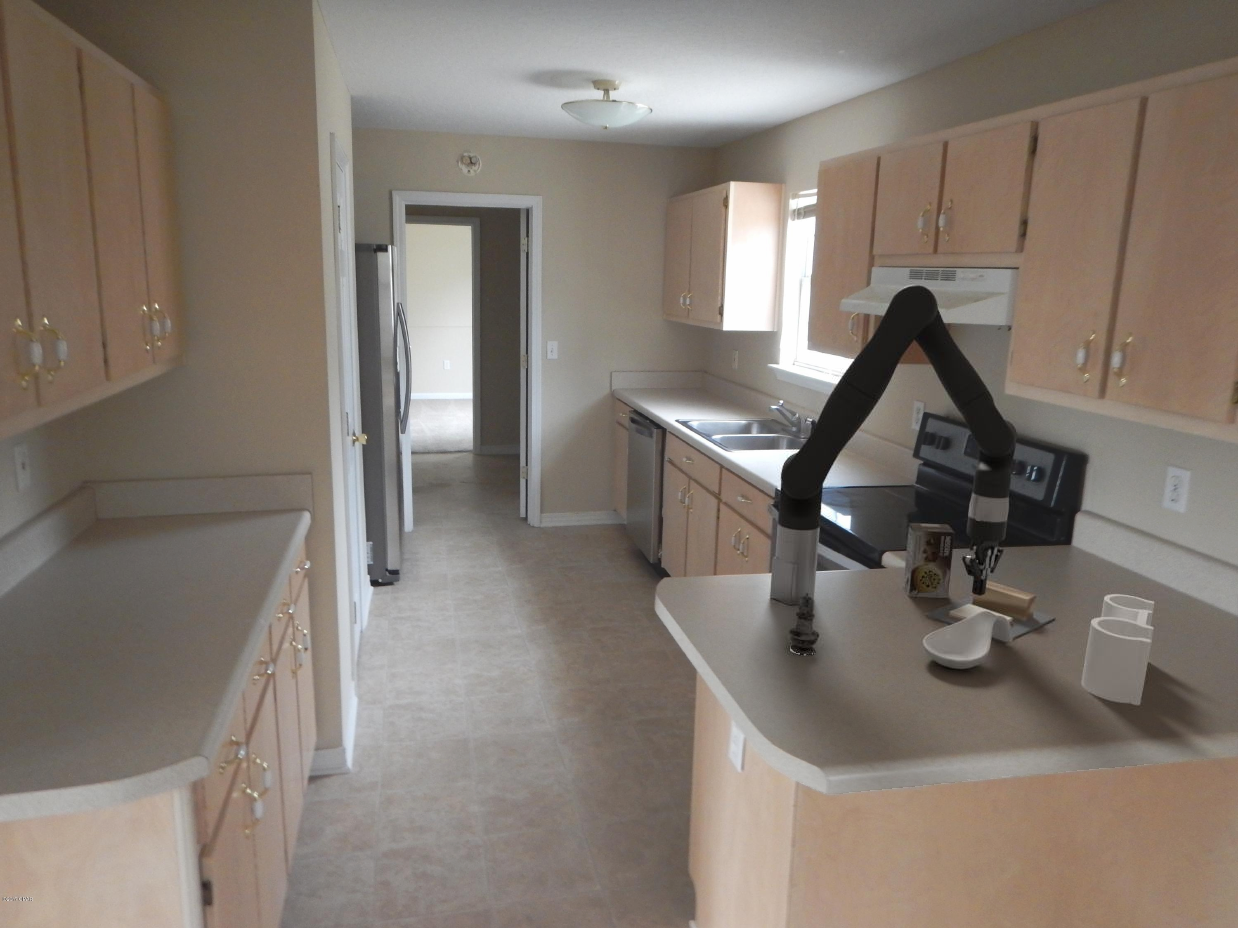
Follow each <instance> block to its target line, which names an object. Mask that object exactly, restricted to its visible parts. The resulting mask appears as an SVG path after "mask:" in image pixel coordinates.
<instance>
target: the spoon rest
mask: <svg viewBox="0 0 1238 928" xmlns="http://www.w3.org/2000/svg"><path fill="white" fill-rule="evenodd" d="M991 637H994V638H996V639H999V640H1002V641H1005V642H1006V643H1011V642H1013V639H1012V630H1011V626H1010V624H1009V622H1008V620H1007V619H1006V618H1005V617H1003V616H997V615H995V614H993V613H991V612H988V611H983V612H980V613H977V614H975V615H973V616H971V617H969V618H966V619H964V620H962V621H960V622H957V623H955V624H952V625H951V624H949V625H947V626H945V627H942V628H940V629H937V630H935V631H933V632H930V633H929V634H927V635H926V636H925V637H924V638H923V640H922V646H923V649H924V651H925V652H926V654H927V655H928V656H929V657H930V658H931V659H932V660H933V661H934V662H935V663H937V664H940V665H941V666H944V667H947V668H950V669H953V670H966V669H970V668H974V667H975V666H977V665H979V664H981V663H982V662H983V661H984V660H985V659H986V657H987V656H988V654H989V652H990V650H991V645H992V639H991Z"/></svg>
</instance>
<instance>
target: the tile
mask: <svg viewBox="0 0 1238 928" xmlns="http://www.w3.org/2000/svg"><path fill="white" fill-rule="evenodd" d="M983 611H988V612H991V613H993V614H995V615H997V616H1003V617H1005V618H1006V619H1007V620H1008V622H1009V624H1011V623H1012V619H1013V618H1011V617H1008V616H1005V615H1002V614H999V613H996V612H993V611H990V610H987V609H984V608H981V607H978V606H974V605H971V604H967V605H965V606H962V607H960V608H957V609H955V610H952V611H950V612H949V617H951V618H954V619H957V620H960V621H962V620H964V619H966V618H969V617H971V616H973V615H975V614H977V613H980V612H983Z"/></svg>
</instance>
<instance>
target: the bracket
mask: <svg viewBox="0 0 1238 928" xmlns="http://www.w3.org/2000/svg"><path fill="white" fill-rule="evenodd" d="M1154 607H1155V602H1154V601H1153V600H1148V599H1144V598H1141V597H1139V596H1138V597H1137V596H1132V595H1127V594H1122V593H1121V594H1119V593H1113V594H1107V595H1105V596H1104V598H1103V604H1102V609H1101V615H1100V617H1095V618H1092V619H1091V622H1090V625H1089V626H1090V628H1089V632H1088V639H1087V644H1086V645H1087V646H1086V652H1085V658H1084V664H1083V670H1082V677H1081V683H1080V684H1081V686H1082V688H1083V689H1084V690H1085V691H1086V692H1088V693H1090V694H1092V695H1093V696H1096V697H1098V698H1100V699H1104V700H1107V701H1111V702H1115V703H1121V704H1131V705H1134V706H1140V705H1141V702H1142V696H1143V690H1144V685H1145V680H1146V674H1147V671H1148V670H1147V669H1148V663H1149V657H1150V652H1151V646H1152V641H1153V637H1154V636H1153V634H1154V630H1155V627H1153V626H1151V625H1152V620H1153V619H1152V618H1153V614H1154Z"/></svg>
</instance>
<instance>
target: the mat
mask: <svg viewBox="0 0 1238 928" xmlns="http://www.w3.org/2000/svg"><path fill="white" fill-rule="evenodd" d="M972 602H973V595H970V596H968V597H967V596H966V597H965V598H962V599H960V600H957V601H955V602H952V603H949V604H946V605H944V606H941V607H939V608H936V609H933V610H932V611H928V612H926V613H924V614H925V616H926V617H929V618H932V619H934V620H937V621H940V622H943V623H945V624H949V625H952V624H955V623H957V622H960V620H957V619H954V618H951V617H949V612H950V611H952V610H955V609H957V608H960V607H962V606H965V605H967V604H971V605H973V604H972ZM974 606H976V605H974ZM978 607H979V606H978ZM981 608H982V607H981ZM984 609H985V608H984ZM987 610H988V609H987ZM990 611H991V610H990ZM993 612H994V611H993ZM996 613H997V612H996ZM999 614H1000V613H999ZM1002 615H1003V614H1002ZM1005 616H1006V615H1005ZM1008 617H1009V616H1008ZM1011 618H1013V617H1011ZM1054 620H1056V616H1053V615H1050V614H1049V615H1048V614H1046V613H1042V612H1039V611H1036V610H1034V614H1033V617H1032V618H1030V619H1028V620H1026V621H1022V620H1019V619H1016V618H1013V619H1012V623H1011V624H1010V626H1011V630H1012V640H1015V639H1016V638H1019V637H1020V636H1023V635H1025V634H1027V633H1029V632H1031V631H1033V630H1035V629H1037V628H1041V626H1044V625H1046V624H1047V623H1050V622H1052V621H1054ZM991 640H994V641H996V642H999V643H1002V644H1006V643H1007V642H1005V641H1002V640H999V639H996V638H994V637H991Z"/></svg>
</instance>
